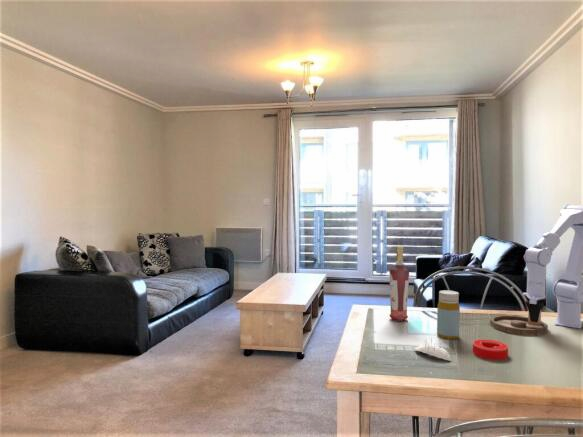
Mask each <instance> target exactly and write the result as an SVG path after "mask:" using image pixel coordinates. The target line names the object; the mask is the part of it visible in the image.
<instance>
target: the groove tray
mask: <svg viewBox="0 0 583 437" xmlns="http://www.w3.org/2000/svg"><path fill="white" fill-rule="evenodd" d="M489 325H490V326H491V327H493V329H494V330H495V329H496V330H498V331H500V332H501V331H502V332H505V333H509V334H513V335H520V336H521V335H522V336H539V335H546V334H547V332H548V328H549V325H548V323H545V322H543V321H542V320H541V325H540V326H533V325H529V324H528V316H527V317H526V316H520V315H507V314H506V315H505V314H502V315H495V316H492V317H491V318H490V320H489Z"/></svg>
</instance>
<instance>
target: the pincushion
mask: <svg viewBox="0 0 583 437" xmlns="http://www.w3.org/2000/svg"><path fill="white" fill-rule="evenodd" d="M432 338H433V337H432V336H431V339H430V340H431V342H430V343H431V344H430V343H428V344H427V338H426V339H425V341H424V343H425V344H421V345H419V346H417V347H416V348H414V350H416V351H417V352H422V353H423V354H424V356H426V355H427V354H428V355H427V356H433V358H434V359H435V358H438V359H443V360H445V361H449V362H452V358H451V355H450V354H449V352H448V351H447V350H446V349H445V348H442V346H441V344H439V345H435V344H433V343H432V341H433V340H432Z"/></svg>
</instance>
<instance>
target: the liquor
mask: <svg viewBox="0 0 583 437" xmlns="http://www.w3.org/2000/svg"><path fill="white" fill-rule="evenodd" d="M395 253H396V258H395V265H394V267H391V268H390V269H389V292H390V295H389V296H390V300H389V301H390V313H389V317H390V319H391V320H392V321H394V322H405V321H406V320H407V319H408V318H409V316H408V298H409V297H408V296H409V286H410V285H409V283H410V282H409V281H410V270H409V269H408V268H406V267H404V257H403V256H404V246H402V245H396V247H395Z"/></svg>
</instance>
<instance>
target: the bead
mask: <svg viewBox="0 0 583 437" xmlns="http://www.w3.org/2000/svg"><path fill="white" fill-rule="evenodd" d="M527 313H528V314H527V317H528V324H529V325H533V326H540V325H541V321H542V311H540V315H539V319H538V322H531V320H530V316H529V311H528V310H527Z"/></svg>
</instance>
